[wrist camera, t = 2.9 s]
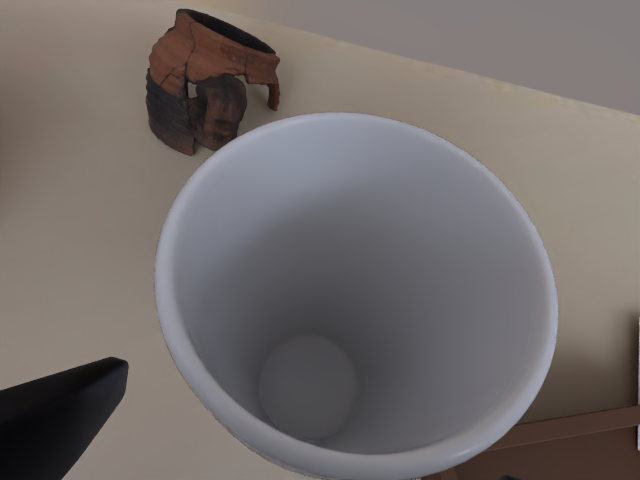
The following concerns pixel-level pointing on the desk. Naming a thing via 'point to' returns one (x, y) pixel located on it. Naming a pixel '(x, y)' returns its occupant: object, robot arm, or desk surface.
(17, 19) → the desk surface
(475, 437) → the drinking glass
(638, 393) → the touchpad
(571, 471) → the tray
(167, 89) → the pottery mug
